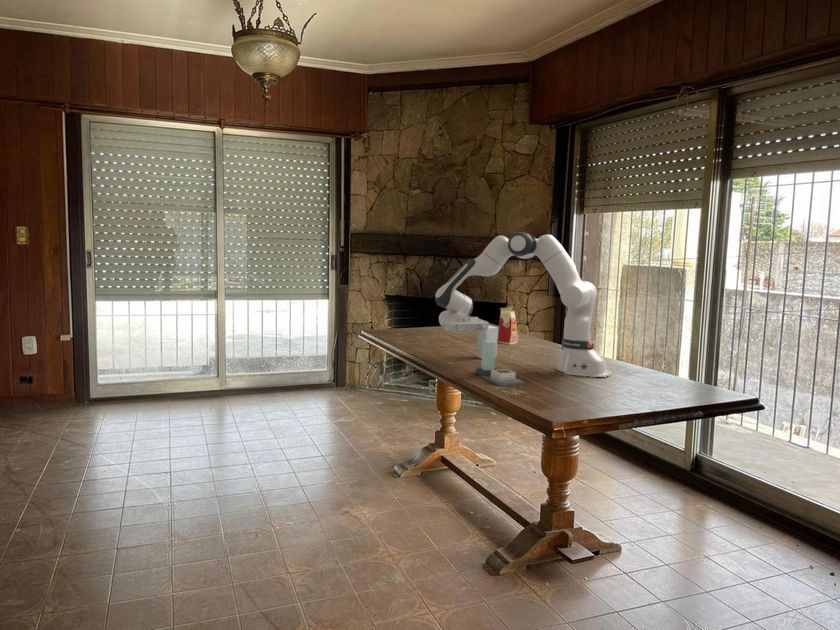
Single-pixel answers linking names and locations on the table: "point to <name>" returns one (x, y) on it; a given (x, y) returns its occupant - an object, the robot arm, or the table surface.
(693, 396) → the table surface
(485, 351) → the plug
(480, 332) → the skincare box
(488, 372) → the holster
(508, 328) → the milk carton
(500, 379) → the port panel
